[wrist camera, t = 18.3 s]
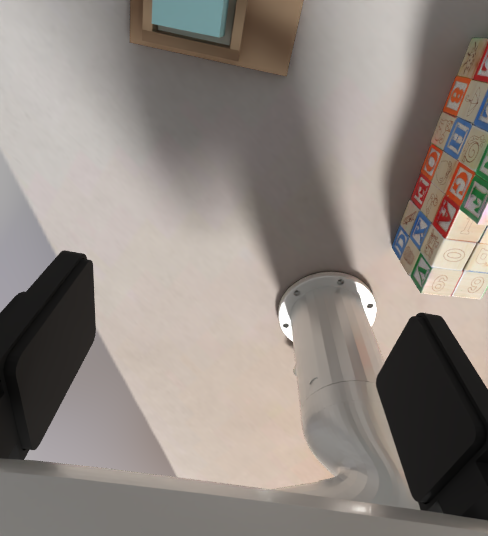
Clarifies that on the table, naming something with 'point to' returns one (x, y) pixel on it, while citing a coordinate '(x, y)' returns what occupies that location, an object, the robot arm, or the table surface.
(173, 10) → the teal nearly cubic block
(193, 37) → the chassis
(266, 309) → the table surface
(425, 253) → the stack of blocks
